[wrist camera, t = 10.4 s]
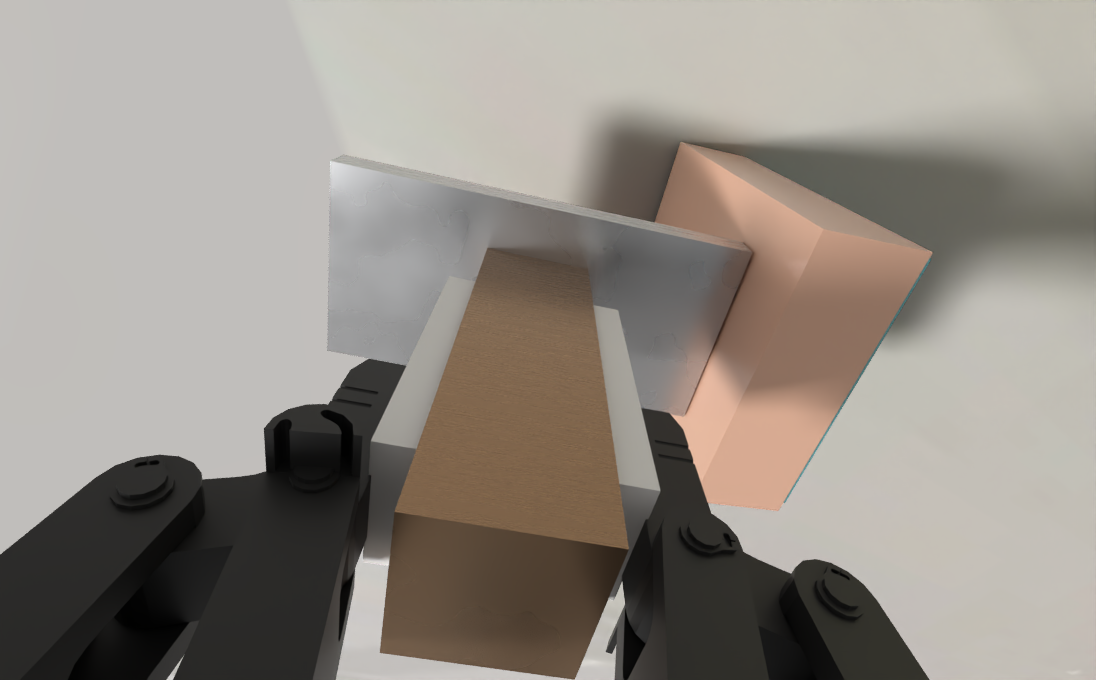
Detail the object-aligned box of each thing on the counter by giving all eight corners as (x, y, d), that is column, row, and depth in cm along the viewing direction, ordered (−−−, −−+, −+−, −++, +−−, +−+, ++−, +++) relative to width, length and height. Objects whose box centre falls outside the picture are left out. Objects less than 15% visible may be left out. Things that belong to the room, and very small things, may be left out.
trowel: (741, 241, 16) (1018, 524, 6) (677, 400, 19) (803, 760, 9) (343, 154, 15) (-36, 338, 5) (338, 335, 18) (83, 669, 8)
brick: (749, 157, 23) (941, 253, 13) (681, 333, 28) (785, 511, 17) (680, 141, 23) (823, 229, 12) (622, 323, 27) (692, 500, 17)
